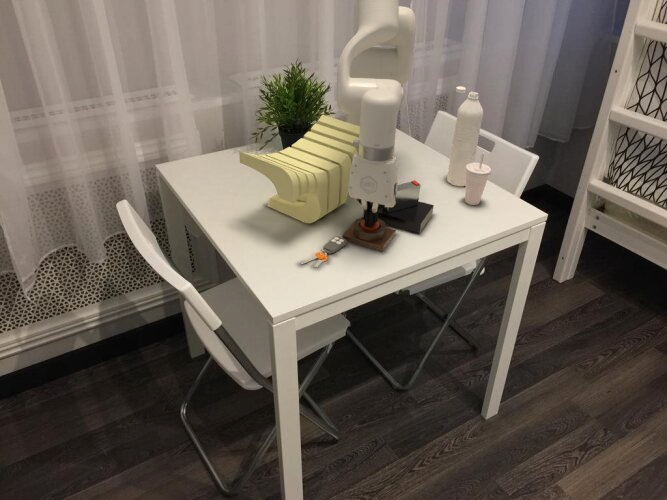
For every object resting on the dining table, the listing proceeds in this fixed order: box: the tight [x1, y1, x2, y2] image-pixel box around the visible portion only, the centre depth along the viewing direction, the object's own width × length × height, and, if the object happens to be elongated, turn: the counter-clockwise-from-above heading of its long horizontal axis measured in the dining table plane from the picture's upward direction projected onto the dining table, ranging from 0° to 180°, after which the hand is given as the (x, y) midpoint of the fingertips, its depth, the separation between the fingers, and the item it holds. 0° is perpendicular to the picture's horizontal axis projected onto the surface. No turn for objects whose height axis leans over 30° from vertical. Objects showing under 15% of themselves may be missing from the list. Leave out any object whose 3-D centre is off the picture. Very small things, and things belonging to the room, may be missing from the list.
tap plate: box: [371, 200, 435, 235], centre depth 144 cm, size 14×10×3 cm
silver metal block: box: [382, 179, 421, 213], centre depth 142 cm, size 9×2×6 cm, turn 119°
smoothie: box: [464, 151, 492, 206], centre depth 149 cm, size 6×6×14 cm
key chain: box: [300, 235, 348, 268], centre depth 130 cm, size 13×4×2 cm, turn 145°
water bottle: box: [446, 86, 484, 187], centre depth 156 cm, size 9×6×25 cm
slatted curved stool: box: [238, 114, 360, 224], centre depth 143 cm, size 30×16×18 cm, turn 142°
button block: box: [342, 217, 396, 253], centre depth 136 cm, size 10×8×4 cm
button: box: [360, 220, 380, 231], centre depth 135 cm, size 4×4×2 cm
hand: (370, 223), depth 135 cm, fingers closed
